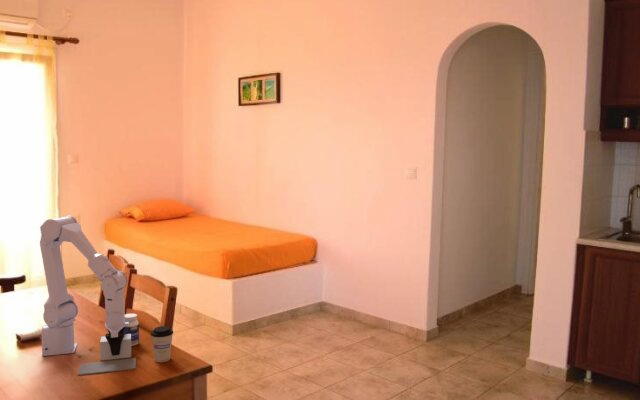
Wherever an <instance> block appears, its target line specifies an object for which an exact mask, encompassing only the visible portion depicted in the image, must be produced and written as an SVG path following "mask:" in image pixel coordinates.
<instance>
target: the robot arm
mask: <svg viewBox="0 0 640 400" xmlns="http://www.w3.org/2000/svg"><path fill="white" fill-rule="evenodd" d="M39 229H40V235H41V236H40V240H39V246H40V251H41V258H42V264H43V269H44V275H45V281H46V285H47V286H46V287H47V292H48V298H47V299H46V301H45V302H44V304H43V308H44V309H43V310H44V312H43V314H42V315H43V316H42V317H43V321H44V323H45V325H43V326H42V327H41V357H46V356H56V355H66V354H67V355H68V354H74V353H75V352H76V349H77V345H78V343H77V342H75V327H74V326H75V324H74V323H75V320H76V319H75V318H76V317H77V316H78V314H79V307H78V305H77V303H76V302H75V298H74V295H71V293H69V292H68V288H67V282H66V277H65V270H64V264H63V263H64V262H63V259H62V252H61V246H62V244H63V243H64V242H68V243H71V244H72V245H73V246H74V247H76V249H77V250H78V251H79V252H80V253H81V254H82V255H83V256H84V257H85V258H86V259H87V261H88V262H87V267H88V268H89V269H90V270H91V271H92V273H93V274H94V275H95V276H96V277H97V278H98V280H99V281H100V282H101V283H100V284H99V285H100V289H101V290H102V292H103V296H104V305H105V306H104V308H105V324H104V327H105V329H106V331H107V332H108V333H105V334H104V335H105V337H106V339H107V341H108V343H109V345H110V349H111V353H112V356H114V355H119V354H120V348H121V343H122V340H123V337H124V335H125V333H123V331H124V329H125V326H128V325H129V322H125V313H126V312H125V311H126V309H125V287H127V286H128V285H127V284H128V277H127V275H126V273H125V272H124V271H122V270H118V269H117V268H115V266H114V265H113V264H112V263H111V261H110V260H109V257H108V256H107V255H105V254H103V253H98V251H97V250H96V249H95V247H94V246H93V245H92V243H91V242H90V241H89V238H87V236H86V235H85V233H84V232H83V230H82V225H81V224H80V222H78V220H77V219H76V218H75V217H74V216H72V215H65V216H62V217H56V218H50V219H46V220H45V221H44V222H43V223H42V224H41V226H40V227H39Z"/></svg>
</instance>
